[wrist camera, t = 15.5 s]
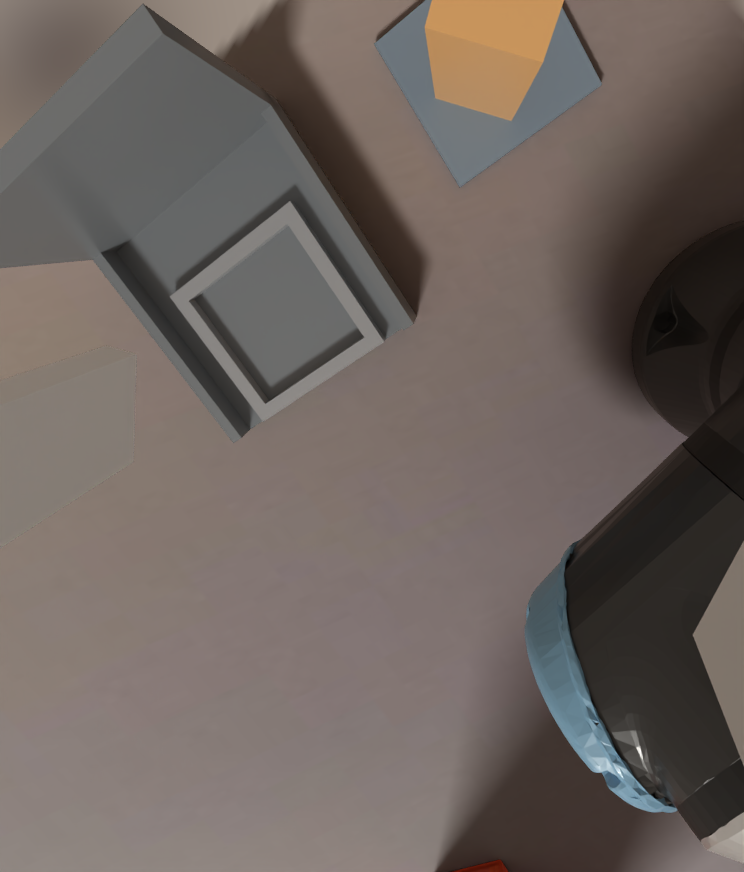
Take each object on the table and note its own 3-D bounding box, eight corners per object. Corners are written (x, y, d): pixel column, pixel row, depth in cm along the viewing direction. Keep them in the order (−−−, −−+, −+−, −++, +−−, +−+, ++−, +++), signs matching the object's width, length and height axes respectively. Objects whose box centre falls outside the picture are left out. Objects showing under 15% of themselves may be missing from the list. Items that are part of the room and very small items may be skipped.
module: (541, 30, 35) (593, -88, 22) (511, 121, 37) (543, 62, 24) (461, 6, 35) (465, -126, 22) (435, 98, 37) (424, 27, 24)
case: (416, 316, 42) (392, 373, 26) (248, 427, 47) (138, 536, 30) (268, 87, 38) (128, -17, 22) (102, 233, 43) (-115, 238, 27)
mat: (600, 86, 36) (601, 84, 35) (459, 187, 39) (460, 187, 38) (516, -75, 34) (517, -79, 33) (375, 46, 37) (374, 43, 36)
